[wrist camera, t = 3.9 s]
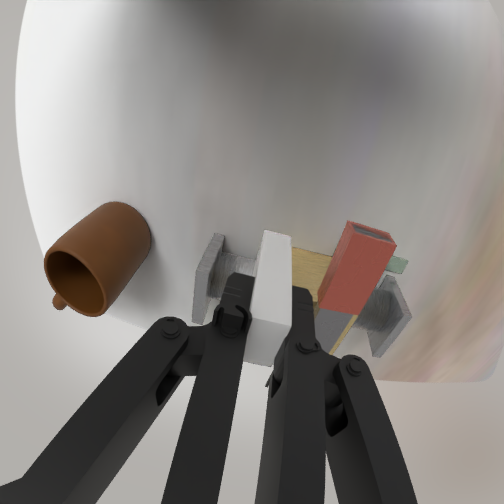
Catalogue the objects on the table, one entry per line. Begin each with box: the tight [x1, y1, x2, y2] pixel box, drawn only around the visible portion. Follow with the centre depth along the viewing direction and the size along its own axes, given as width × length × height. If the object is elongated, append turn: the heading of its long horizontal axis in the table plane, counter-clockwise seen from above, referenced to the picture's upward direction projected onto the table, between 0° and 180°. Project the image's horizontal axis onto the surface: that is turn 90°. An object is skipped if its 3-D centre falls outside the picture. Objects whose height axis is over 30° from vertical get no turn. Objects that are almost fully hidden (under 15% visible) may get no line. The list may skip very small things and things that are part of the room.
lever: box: [313, 220, 397, 354], centre depth 16 cm, size 13×4×2 cm, turn 169°
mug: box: [44, 202, 151, 317], centre depth 23 cm, size 12×8×9 cm, turn 127°
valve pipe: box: [192, 233, 412, 357], centre depth 23 cm, size 9×20×9 cm, turn 79°
